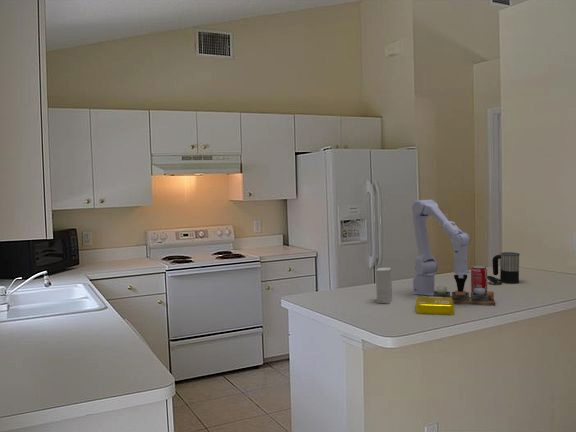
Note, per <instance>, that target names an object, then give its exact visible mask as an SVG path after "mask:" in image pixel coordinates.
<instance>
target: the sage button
mask: <svg viewBox="0 0 576 432" xmlns="http://www.w3.org/2000/svg"><path fill="white" fill-rule="evenodd" d="M435 289H436V290H435V291H436V294H447V290H448V287H447V286H443V285H440V286H436V288H435Z"/></svg>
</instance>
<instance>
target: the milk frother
mask: <svg viewBox="0 0 576 432" xmlns="http://www.w3.org/2000/svg"><path fill="white" fill-rule="evenodd" d="M520 255H521V253H520V252H519V253H518V252H513V251H512V252H511V251H504V252H500V254H497V255H495V256H493V258H492V275H493V276H492V275H487V281H489V282H491V283H493V284H494V285H502V283H504V284H519V283H520V278H519V277H520ZM499 260H500V269H499ZM499 270H500V271H499ZM499 273H500V276H499V277H500V279H499V278H497V277H496V276H498V275H499Z"/></svg>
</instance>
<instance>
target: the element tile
mask: <svg viewBox="0 0 576 432" xmlns="http://www.w3.org/2000/svg"><path fill="white" fill-rule="evenodd" d="M415 301H416V302H415V313H416V314H420V315H436V314H437V315H441V316H452V315H455V304H454V302H453V299H452V298H451V297H428V296H425V295H419V296H417V297H416V299H415Z"/></svg>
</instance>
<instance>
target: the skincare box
mask: <svg viewBox="0 0 576 432" xmlns="http://www.w3.org/2000/svg"><path fill="white" fill-rule="evenodd" d="M375 278H376V281H375V282H376V283H375V284H376V303H378V304H387V305H389V304H391V301H392V300H393V289H392V288H393V285H392V282H393V281H392V268H391V267H378V268H377V269H376V270H375Z"/></svg>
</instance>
